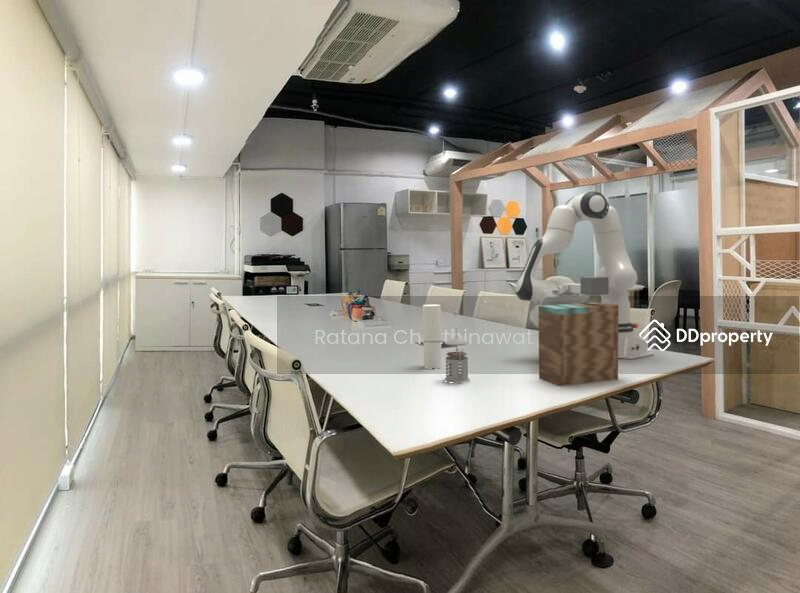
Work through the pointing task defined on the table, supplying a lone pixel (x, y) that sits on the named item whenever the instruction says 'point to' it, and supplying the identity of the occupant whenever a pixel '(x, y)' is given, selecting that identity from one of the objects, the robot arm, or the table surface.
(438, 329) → the cylindrical container
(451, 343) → the french press
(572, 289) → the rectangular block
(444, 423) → the table surface
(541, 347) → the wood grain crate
